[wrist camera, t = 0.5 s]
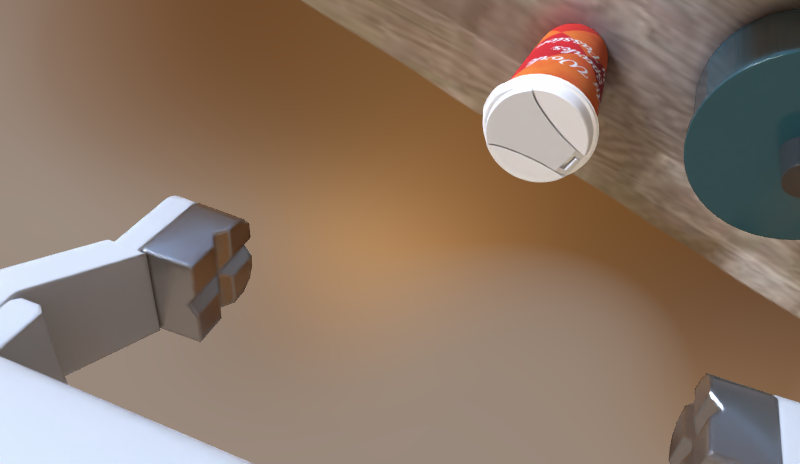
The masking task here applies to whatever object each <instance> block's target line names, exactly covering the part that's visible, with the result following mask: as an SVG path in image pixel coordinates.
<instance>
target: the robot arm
mask: <svg viewBox="0 0 800 464" xmlns="http://www.w3.org/2000/svg"><path fill="white" fill-rule="evenodd" d="M249 238H250V229H249V223H248V222H247V221H245V220H244V219H242V218H239V217H236V216H233V215H230V214H228V213H225V212H222V211H219V210H217V209H214V208H211V207H208V206H206V205H203V204H200V203H195V202H193V201H190V200H187V199H184V198H182V197H179V196H172V197H168V198H167V199H165V200H164V201H163V202H162V203H161V204H159V206H157V207H156V208H155V209H153V210H152V211H151V212H150V213H149V214H147V215H146V216H145V217H144V218H143V219H141V220H140V221H139V222H138V223H137V224H135V225H134V226H133V227H132V228H131V229H129V230H128V231H127V232H126V233H125V234H123V235H122V236H121V237H120V238H119V239H118V240H116V241H115V242H113V241H110V240H105V241H101V242H97V243H94V244H90V245H87V246H83V247H79V248H76V249H72V250H69V251H65V252H61V253H58V254H54V255H51V256H47V257H44V258H40V259H36V260H33V261H29V262H25V263H22V264H18V265H15V266H11V267H7V268H4V269H0V464H253V463H250V462H248V461H246V460H244V459H241V458H239V457H236V456H234V455H232V454H229V453H227V452H225V451H222V450H220V449H217V448H215V447H213V446H211V445H208V444H206V443H203V442H201V441H198V440H197V439H194V438H192V437H189V436H187V435H185V434H182V433H180V432H178V431H175V430H173V429H171V428H168V427H166V426H164V425H161V424H159V423H157V422H154V421H152V420H150V419H147V418H145V417H142V416H140V415H137V414H135V413H133V412H131V411H128V410H126V409H124V408H121V407H119V406H117V405H114V404H112V403H110V402H107V401H105V400H102V399H100V398H98V397H95V396H93V395H91V394H88V393H86V392H84V391H81V390H79V389H77V388H74V387H72V386H69V385H68V384H67V381H66V378H65V376H66V375H68V374H70V373H72V372H74V371H76V370H79V369H81V368H82V367H85V366H87V365H88V364H91V363H93V362H95V361H97V360H99V359H101V358H103V357H105V356H107V355H110V354H112V353H114V352H116V351H118V350H120V349H122V348H124V347H126V346H128V345H130V344H133V343H135V342H137V341H139V340H141V339H143V338H145V337H147V336H149V335H151V334H153V333H155V332H158V331H160V328H163V329H165V330H168V331H171V332H174V333H176V334H179V335H182V336H185V337H188V338H191V339H193V340H196V341H199V342H201V341H202V340H203V338H205V336H206V335H207V334H208V333H209V332H210V331H211V329H212V328H213V327H214V326H215V325H216V324H217V323H218V321H219V320H220V319H221V307H223V306H226V305H229V304H231V303H234V302H235V301H236V300H237V298H239V296H240V295H241V294H242V293H243V292H244V289H245V287H246V285H247V282H248V281H249V279H250V273H251V269H252V256H251V254H250V253H249V251H248V250H247V249H246V247H245V246H244V244H245V243H246V242H247V241H248V240H249ZM669 462H670V464H800V403H798V402H795V401H792V400H789V399H786V398H783V397H779V396H776V395H772V394H769V393H766V392H763V391H760V390H757V389H754V388H751V387H748V386H745V385H741V384H738V383H735V382H732V381H729V380H726V379H723V378H720V377H717V376H714V375H711V374H707V373H706V374H705V375H704V376H703V377H702V378H701V380H700V381H699V383H698V385H697V386H696V388H695V400H694V403H692V404H689V405H686V406H685V407H684V409H683V411H682V412H681V415H680V416H679V418H678V421H677V423H676V426H675V429H674V432H673V435H672V440H671V445H670V452H669Z"/></svg>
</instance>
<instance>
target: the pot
mask: <svg viewBox="0 0 800 464" xmlns="http://www.w3.org/2000/svg"><path fill="white" fill-rule="evenodd" d="M797 48H800V9H792V10H787V11H781V12H777V13H774V14H771V15H767V16H765V17H762V18H760V19H758V20H755V21H753V22H751V23H750V24H748V25H746V26H744V27H742V28H741V29H739V30H738V31H737V32H735V33H734V34H732V35H731V36H730V37H729V38H728V39H727V40H725V41H724V42H723V43H722V44H721V45H720V46H719V48H718V49H717V50H716V51H715V52H714V53H713V55H712V56H711V58H710V59H709V60H708V62H707V64H706V66H705V68H704V70H703V72H702V75H701V78H700V81H699V84H698V86H697V88H696V95H695V106H694V113H695V111H696V109H697V108H698V106H699V105H700V104H701V102H702V101H703V99H704V98H705V97H706V96H707V95H708V94H709V92H710V91H711V90H712V89H713V88H714V87H715V86H716V85H718V84H719V83H720V82H721V81H722V80H723V79H725V78H726V77H727V76H729V75H730V74H732V73H733V72H735V71H736V70H738V69H739V68H741V67H743V66H745V65H747V64H749V63H751V62H753V61H755V60H757V59H760V58H763V57H765V56H768V55H770V54H774V53H778V52H781V51H785V50H790V49H797Z"/></svg>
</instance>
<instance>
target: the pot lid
mask: <svg viewBox="0 0 800 464" xmlns="http://www.w3.org/2000/svg"><path fill="white" fill-rule="evenodd" d="M684 164H685V170H686V174H687V177H688V180H689V183H690V185H691V187H692V189H693V191H694V192H695V194H696V195H697V197H698V198H699V200H700V201H701V202H702V203H703V204H704V205H705V206H706V207H707V208H708V209H709V210H710V211H711V212H712V213H713V214H715V215H716V216H717V217H718V218H720V219H722V220H723V221H725V222H726V223H728V224H730V225H732V226H734V227H736V228H738V229H740V230H743V231H746V232H748V233H751V234H755V235H759V236H763V237H768V238H775V239H785V240H800V48H797V49H790V50H785V51H781V52H778V53H774V54H770V55H768V56H765V57H763V58H760V59H757V60H755V61H753V62H751V63H749V64H747V65H745V66H743V67H741V68H739V69H738V70H736V71H735V72H733V73H732V74H730V75H729V76H727V77H726V78H725V79H723V80H722V81H721V82H720V83H719V84H718V85H716V86H715V87H714V88H713V89H712V90H711V91H710V92H709V94H708V95H707V96H706V97H705V98H704V99H703V101H702V102H701V104H700V105H699V106H698V108H697V109H696V111H695V113H694V115H693V117H692V119H691V121H690V124H689V127H688V130H687V133H686V138H685V143H684Z"/></svg>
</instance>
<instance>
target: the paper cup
mask: <svg viewBox="0 0 800 464" xmlns="http://www.w3.org/2000/svg"><path fill="white" fill-rule="evenodd" d="M607 64H608V52H607V48H606V45H605V43H604V41H603V39H602V38H601V36H600V35H599V34H598V33H597V32H596V31H595V30H593V29H591V28H590V27H588V26H585V25H582V24H575V23H571V24H564V25H561V26H558V27H556V28H555V29H553V30H551V31H550V32H549V33H548V34H547V35H546V36H545V37H544V38H543V39H542V40H541V41H540V42H539V44H538V45H537V46H536V47H535V48H534V50H533V51H532V52H531V53H530V55H529V56H528V57H527V58H526V60H525V61H524V62H523V64H522V65H521V66H520V67H519V69H518V70H517V71H516V73H515V74H514V75H513V76H512V78H511V79H510V80H509V81H508V82H506V83H504V84H501V85H499V86H497V87H496V88H495V89H494V90H493V91H492V92H491V94H490V95H489V97H488V98H487V100H486V102H485V105H484V107H483V131H484V136H485V139H486V144H487V147H488V149H489V151H490V153H491V155H492V157H493V158H494V160H495V161H496V162H497V163H498V164H499V165H500V166H501V167H502V168H503V169H504V170H506V171H507V172H508V173H510V174H511V175H513V176H516V177H518V178H520V179H523V180H527V181H532V182H550V181H554V180H558V179H560V178H563V177H564V176H566V175H569V174H571V173H573V172H575V171H576V170H578V169H579V168H580V167H582V166H583V165H584V164H585V163H586V162H587V161H588V160H589V158H590V157H591V155H592V154H593V152H594V150H595V148H596V145H597V142H598V137H599V123H598V113H599V108H600V103H601V98H602V92H603V87H604V82H605V76H606V71H607Z"/></svg>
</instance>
